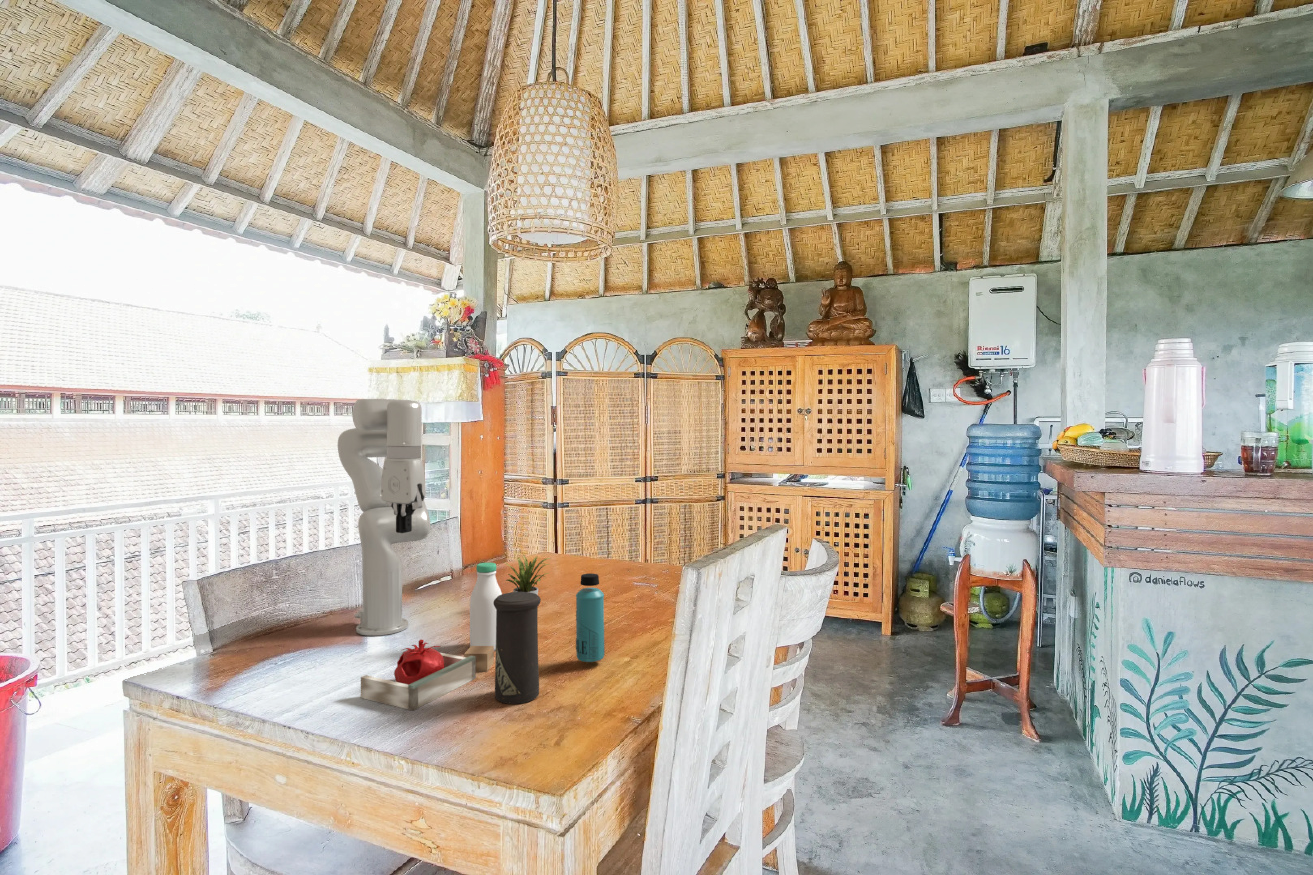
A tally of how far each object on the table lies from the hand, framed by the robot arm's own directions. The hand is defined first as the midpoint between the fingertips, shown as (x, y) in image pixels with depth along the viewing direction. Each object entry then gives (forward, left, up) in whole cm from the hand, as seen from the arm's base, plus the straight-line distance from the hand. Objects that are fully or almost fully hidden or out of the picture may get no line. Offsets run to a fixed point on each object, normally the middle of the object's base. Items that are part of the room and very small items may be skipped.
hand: (403, 531), depth 153 cm
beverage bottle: (+43, +12, -28) cm, 53 cm away
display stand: (+19, -14, -28) cm, 37 cm away
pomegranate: (+18, -13, -28) cm, 36 cm away
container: (+39, -9, -28) cm, 50 cm away
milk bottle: (+15, +11, -28) cm, 34 cm away
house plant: (+6, +41, -28) cm, 50 cm away
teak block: (+22, 0, -28) cm, 36 cm away
